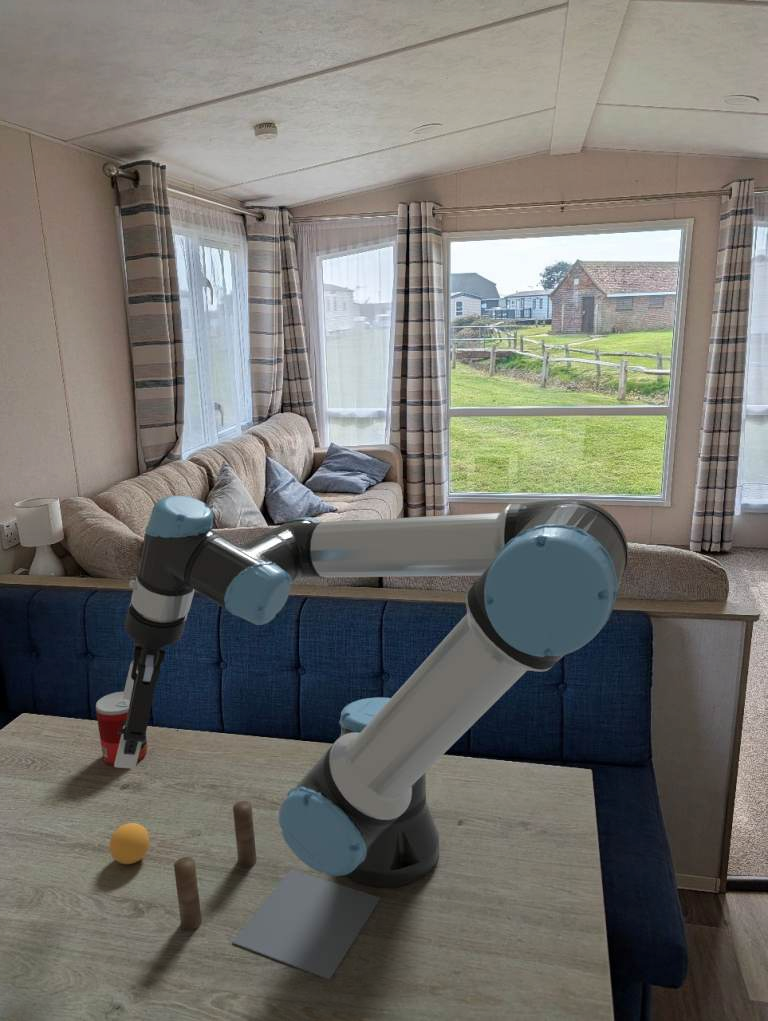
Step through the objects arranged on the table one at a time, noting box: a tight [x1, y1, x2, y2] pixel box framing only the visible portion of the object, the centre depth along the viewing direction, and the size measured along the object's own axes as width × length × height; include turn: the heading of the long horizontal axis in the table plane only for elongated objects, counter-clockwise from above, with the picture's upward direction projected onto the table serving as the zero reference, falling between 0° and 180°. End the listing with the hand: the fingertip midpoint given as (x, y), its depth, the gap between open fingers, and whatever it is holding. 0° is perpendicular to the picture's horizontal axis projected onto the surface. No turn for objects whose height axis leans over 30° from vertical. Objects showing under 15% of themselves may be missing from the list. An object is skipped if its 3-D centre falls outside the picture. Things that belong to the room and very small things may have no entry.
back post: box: [232, 800, 257, 868], centre depth 108 cm, size 3×3×9 cm
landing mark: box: [231, 869, 381, 981], centre depth 98 cm, size 14×14×1 cm
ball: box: [109, 822, 150, 865], centre depth 110 cm, size 6×6×6 cm
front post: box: [173, 856, 203, 932], centre depth 97 cm, size 3×3×9 cm
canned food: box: [95, 690, 148, 767], centre depth 136 cm, size 8×8×11 cm
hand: (128, 730), depth 107 cm, fingers open, 13 cm apart
